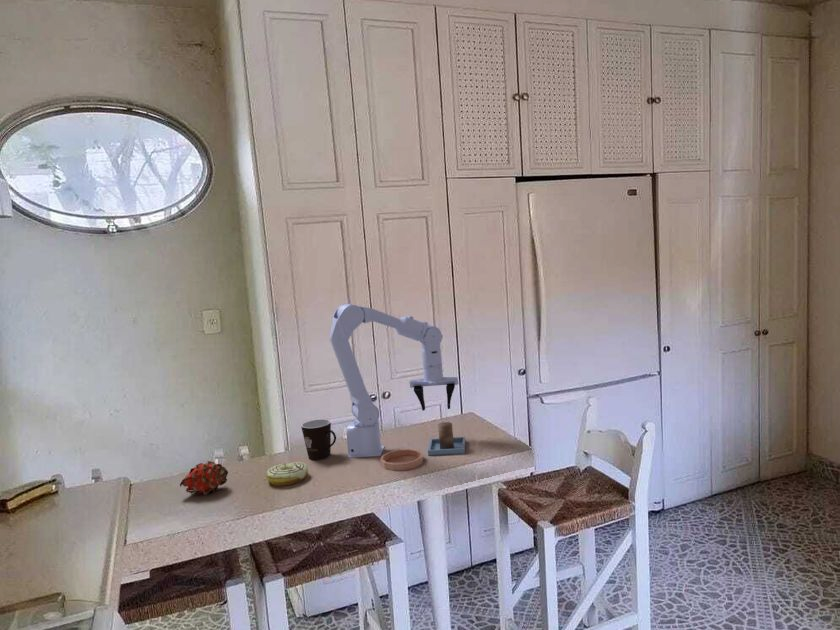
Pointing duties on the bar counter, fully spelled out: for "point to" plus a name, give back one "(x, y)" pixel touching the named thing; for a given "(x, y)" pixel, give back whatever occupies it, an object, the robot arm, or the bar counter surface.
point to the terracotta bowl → (401, 459)
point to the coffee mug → (318, 438)
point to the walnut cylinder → (446, 435)
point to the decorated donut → (287, 473)
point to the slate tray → (458, 449)
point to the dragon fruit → (205, 478)
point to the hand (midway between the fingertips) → (436, 408)
